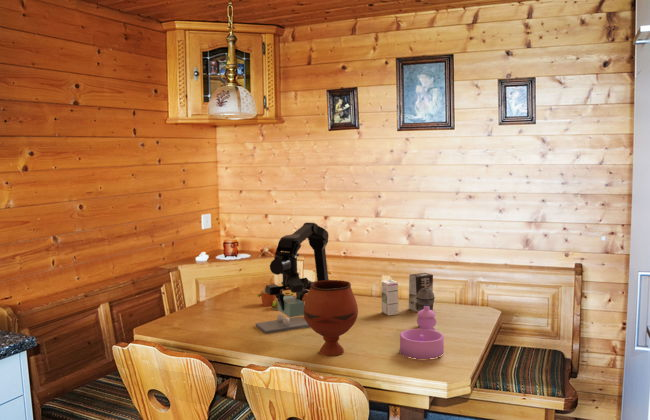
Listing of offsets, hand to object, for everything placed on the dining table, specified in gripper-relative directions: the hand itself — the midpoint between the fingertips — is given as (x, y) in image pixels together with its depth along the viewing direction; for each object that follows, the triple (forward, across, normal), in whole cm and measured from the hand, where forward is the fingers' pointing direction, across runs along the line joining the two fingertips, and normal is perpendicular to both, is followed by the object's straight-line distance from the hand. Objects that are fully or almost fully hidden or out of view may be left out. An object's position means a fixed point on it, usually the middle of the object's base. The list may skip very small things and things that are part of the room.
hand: (290, 309), depth 222 cm
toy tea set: (+12, +18, +48) cm, 53 cm away
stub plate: (+11, +3, +14) cm, 18 cm away
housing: (+1, 0, 0) cm, 1 cm away
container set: (+11, +37, -35) cm, 52 cm away
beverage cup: (+11, +55, -13) cm, 57 cm away
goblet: (+11, +6, -23) cm, 26 cm away
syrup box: (+12, +52, +9) cm, 54 cm away
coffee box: (+12, +68, +8) cm, 69 cm away
